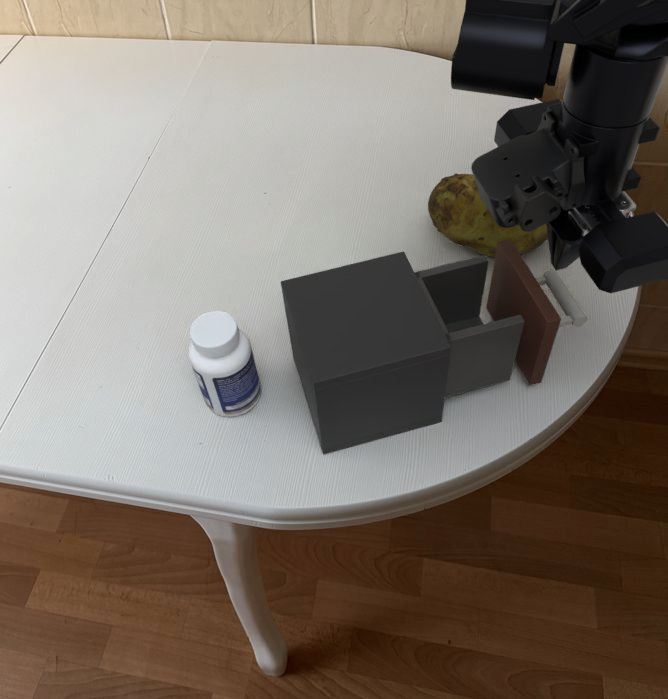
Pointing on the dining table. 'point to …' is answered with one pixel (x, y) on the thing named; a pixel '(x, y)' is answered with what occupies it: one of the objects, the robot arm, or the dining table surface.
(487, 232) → the potato
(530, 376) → the drawer
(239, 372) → the pill bottle
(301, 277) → the dark grey cube
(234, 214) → the dining table surface
